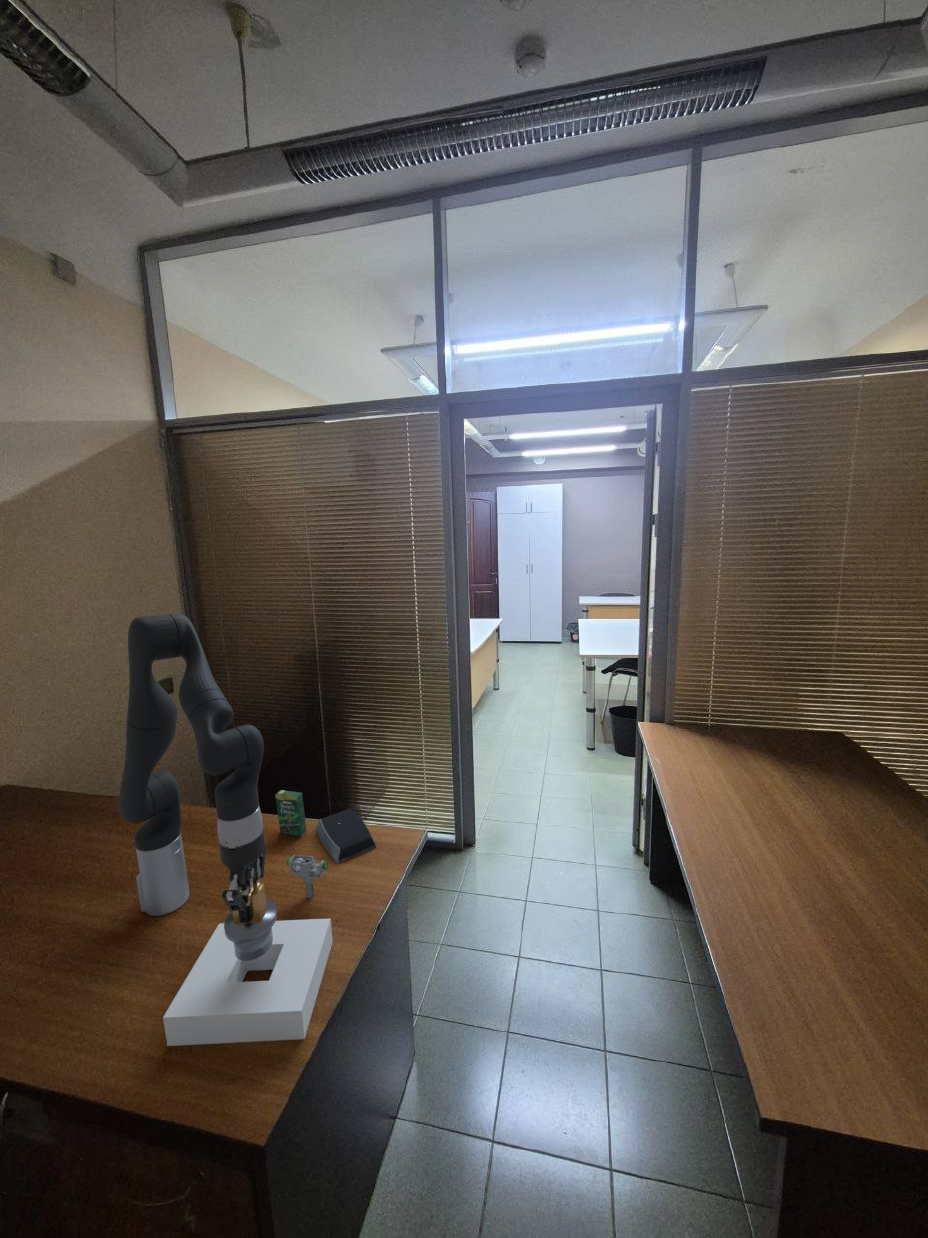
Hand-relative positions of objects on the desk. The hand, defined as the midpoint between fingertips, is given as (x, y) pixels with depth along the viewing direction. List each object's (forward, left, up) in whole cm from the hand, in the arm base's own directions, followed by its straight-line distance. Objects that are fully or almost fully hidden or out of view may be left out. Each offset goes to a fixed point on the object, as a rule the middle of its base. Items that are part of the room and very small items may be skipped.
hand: (250, 913), depth 89 cm
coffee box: (-10, +50, -17) cm, 54 cm away
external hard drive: (+7, +47, -18) cm, 50 cm away
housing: (0, 0, -17) cm, 17 cm away
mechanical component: (+3, +24, -17) cm, 30 cm away
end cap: (0, 0, -8) cm, 8 cm away
